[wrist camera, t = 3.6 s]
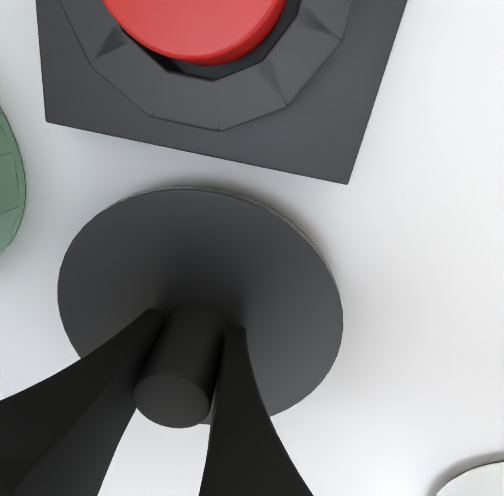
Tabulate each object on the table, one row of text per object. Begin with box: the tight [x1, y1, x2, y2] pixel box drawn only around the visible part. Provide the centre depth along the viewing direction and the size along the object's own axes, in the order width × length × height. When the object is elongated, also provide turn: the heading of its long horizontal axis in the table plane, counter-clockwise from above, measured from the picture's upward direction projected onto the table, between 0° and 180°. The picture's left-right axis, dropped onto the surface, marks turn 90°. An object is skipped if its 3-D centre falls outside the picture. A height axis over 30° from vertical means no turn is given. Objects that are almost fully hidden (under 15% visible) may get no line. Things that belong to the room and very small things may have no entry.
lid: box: [58, 186, 343, 428], centre depth 12 cm, size 11×11×4 cm
